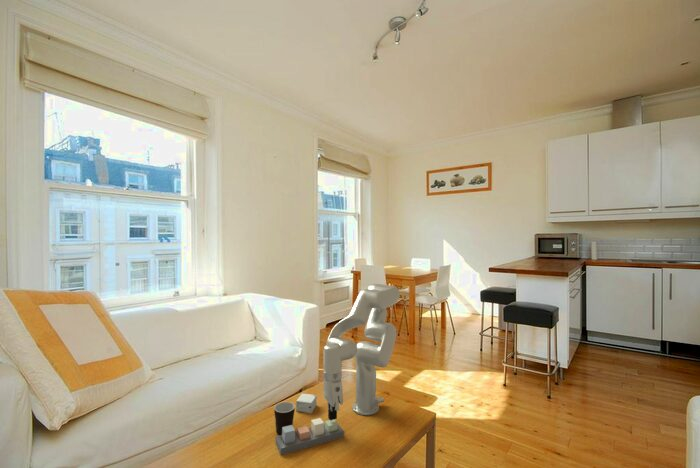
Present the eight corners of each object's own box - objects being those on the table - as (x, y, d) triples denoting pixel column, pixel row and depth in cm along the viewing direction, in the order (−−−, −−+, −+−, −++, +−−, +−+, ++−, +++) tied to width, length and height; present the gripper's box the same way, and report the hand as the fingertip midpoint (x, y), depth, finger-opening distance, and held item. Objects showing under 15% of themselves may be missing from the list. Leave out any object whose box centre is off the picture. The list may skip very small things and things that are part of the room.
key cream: (320, 428, 133) (320, 417, 133) (323, 434, 129) (324, 422, 129) (310, 431, 131) (311, 420, 131) (314, 436, 127) (314, 425, 128)
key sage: (333, 429, 136) (333, 418, 136) (337, 434, 132) (337, 423, 132) (324, 432, 134) (324, 421, 134) (328, 437, 130) (328, 426, 130)
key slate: (291, 436, 127) (292, 424, 127) (294, 442, 124) (295, 430, 124) (281, 438, 126) (282, 427, 126) (284, 444, 122) (284, 432, 122)
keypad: (335, 426, 138) (335, 420, 138) (343, 437, 131) (343, 431, 131) (275, 442, 126) (275, 436, 127) (280, 455, 119) (280, 448, 119)
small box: (295, 411, 150) (295, 400, 150) (301, 403, 158) (302, 392, 158) (311, 414, 148) (311, 402, 148) (316, 405, 156) (317, 394, 156)
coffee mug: (289, 438, 129) (290, 413, 130) (269, 435, 131) (270, 410, 131) (300, 422, 141) (300, 399, 141) (281, 420, 142) (282, 397, 143)
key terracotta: (306, 437, 130) (306, 425, 130) (309, 442, 127) (309, 431, 127) (296, 439, 128) (296, 428, 128) (299, 445, 125) (300, 433, 125)
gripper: (348, 380, 128) (348, 426, 129) (333, 366, 142) (333, 407, 142) (331, 384, 125) (331, 431, 125) (317, 369, 138) (317, 411, 139)
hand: (332, 418), depth 134 cm, fingers closed
